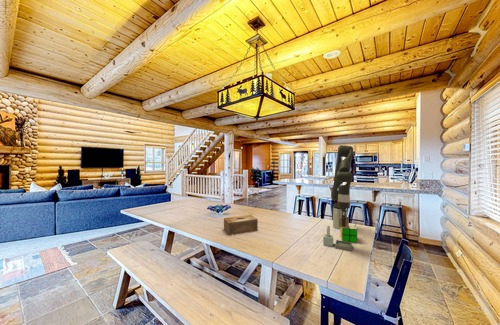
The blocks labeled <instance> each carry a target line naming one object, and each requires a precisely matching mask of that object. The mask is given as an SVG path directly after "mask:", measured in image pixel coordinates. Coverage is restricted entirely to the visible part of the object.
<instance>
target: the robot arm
mask: <svg viewBox="0 0 500 325" xmlns="http://www.w3.org/2000/svg"><path fill="white" fill-rule="evenodd" d="M353 154H354V147H353V146H351V145H339V146H338V148H337V154H336V156H337V157H336V163H335V164H336V165H335V171H334V177H333V185H332V189H331V194H330V198H331V200H332V201H337V202H336V203H334V204H333V205H332V227H333V228H334V229H337V230H340V227H339V216H341V217H342V219H341V220H342V226H344V227H345V226H346V217H348V216H347V215H348V209H350V208H351V196H350V193H351V192H350V189H351V184H352V182H353V178H354V177H353V176H354V175H353V174H352V172H350V171H351V163H352V160H353V159H352V158H353ZM342 158H344V159H342ZM343 183H346V184H343ZM343 217H344V218H345V219H343Z"/></svg>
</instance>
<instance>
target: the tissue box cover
mask: <svg viewBox="0 0 500 325" xmlns="http://www.w3.org/2000/svg"><path fill="white" fill-rule="evenodd" d="M258 221H259V220H258V218H256V217H255V216H253V215H252V214H247V215H239V216H229V217H223V230H224V231H225V232H226V233H227V235H228V236H231V235H237V234H243V233H249V232H255V231H256V232H257V231H258V228H259V227H258V225H259V224H258Z"/></svg>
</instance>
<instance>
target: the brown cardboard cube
mask: <svg viewBox="0 0 500 325" xmlns="http://www.w3.org/2000/svg"><path fill="white" fill-rule="evenodd" d="M349 217H350V216H347V217H346V226H345V227H344V226H342V220H341V219H342V217H341V216H339V227H342V228H349V225H350V221H349V219H350V218H349ZM343 219H345V218H344V217H343Z"/></svg>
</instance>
